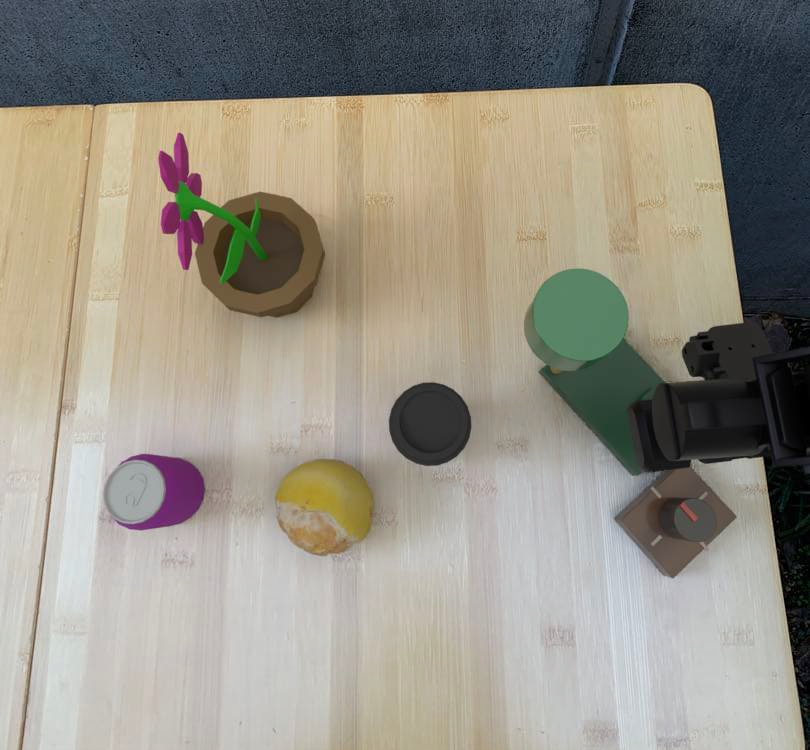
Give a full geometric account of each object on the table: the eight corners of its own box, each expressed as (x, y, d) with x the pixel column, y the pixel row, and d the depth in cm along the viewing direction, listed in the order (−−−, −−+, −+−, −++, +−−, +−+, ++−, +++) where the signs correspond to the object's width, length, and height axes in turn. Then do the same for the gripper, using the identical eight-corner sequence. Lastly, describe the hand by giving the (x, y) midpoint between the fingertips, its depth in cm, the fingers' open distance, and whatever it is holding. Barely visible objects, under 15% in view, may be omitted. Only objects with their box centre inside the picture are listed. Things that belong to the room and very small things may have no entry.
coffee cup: (449, 480, 79) (456, 478, 65) (382, 454, 80) (375, 447, 66) (472, 412, 81) (484, 396, 67) (407, 388, 82) (405, 367, 68)
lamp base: (695, 420, 81) (709, 417, 77) (633, 477, 79) (644, 477, 75) (599, 319, 84) (608, 310, 80) (538, 372, 82) (544, 366, 78)
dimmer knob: (707, 520, 75) (727, 523, 70) (679, 548, 74) (697, 551, 70) (678, 489, 76) (696, 489, 71) (650, 515, 75) (666, 517, 70)
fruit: (287, 459, 80) (270, 455, 71) (378, 462, 80) (373, 458, 70) (280, 550, 78) (261, 558, 68) (374, 553, 77) (368, 563, 68)
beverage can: (195, 532, 78) (156, 540, 67) (132, 516, 79) (83, 520, 67) (215, 466, 80) (181, 462, 69) (154, 450, 81) (110, 444, 69)
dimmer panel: (727, 518, 78) (740, 519, 75) (665, 577, 76) (675, 581, 73) (673, 459, 79) (683, 458, 76) (611, 516, 78) (619, 517, 75)
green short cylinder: (630, 332, 61) (649, 319, 57) (566, 389, 60) (579, 380, 55) (569, 268, 63) (582, 249, 58) (505, 322, 62) (512, 308, 57)
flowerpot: (222, 227, 88) (125, 96, 59) (333, 223, 88) (291, 90, 58) (218, 335, 84) (113, 254, 55) (334, 331, 84) (290, 247, 55)
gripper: (870, 303, 55) (772, 343, 70) (643, 330, 55) (594, 364, 70) (911, 441, 52) (800, 452, 68) (673, 470, 52) (615, 475, 67)
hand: (701, 432), depth 68 cm, fingers closed
